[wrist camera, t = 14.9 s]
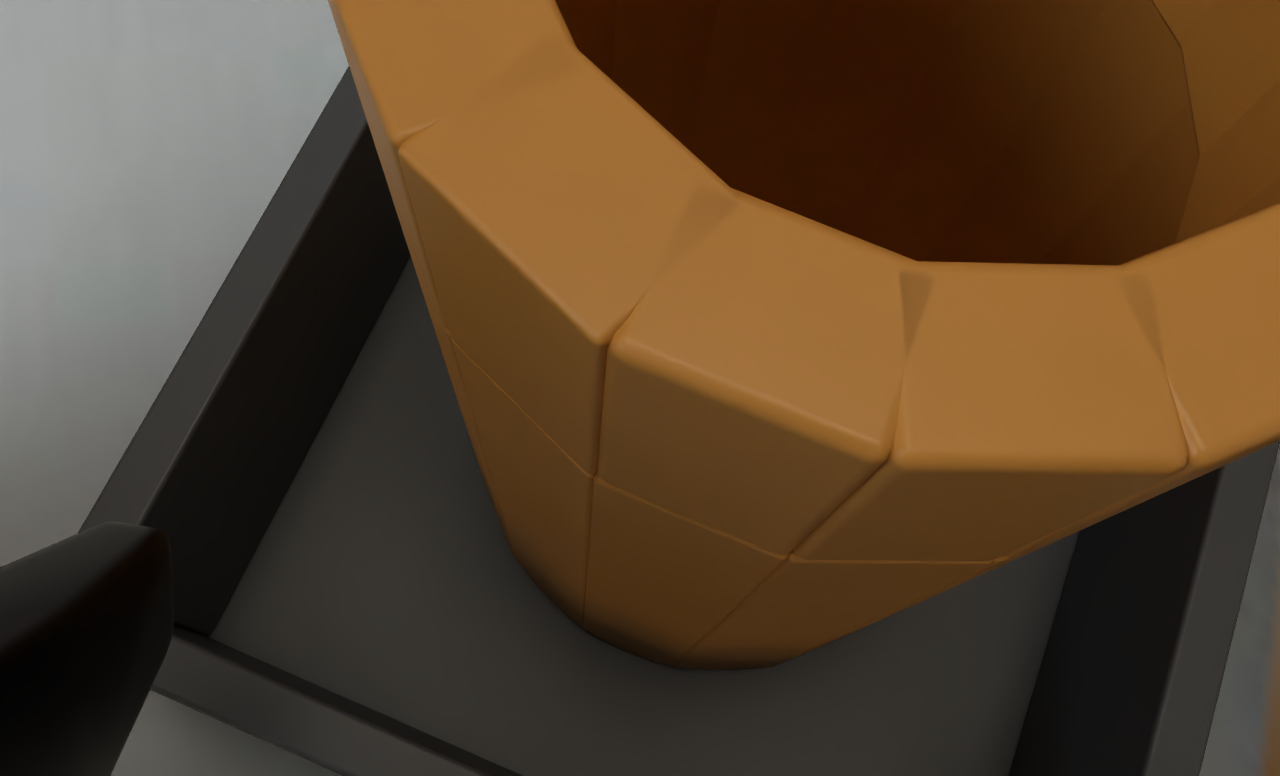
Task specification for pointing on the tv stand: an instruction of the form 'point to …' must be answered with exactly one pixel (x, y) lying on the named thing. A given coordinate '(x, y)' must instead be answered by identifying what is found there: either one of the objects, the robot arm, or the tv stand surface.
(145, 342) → the tv stand surface
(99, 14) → the tv stand surface
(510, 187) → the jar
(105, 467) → the tv stand surface
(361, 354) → the dark grey square tray
